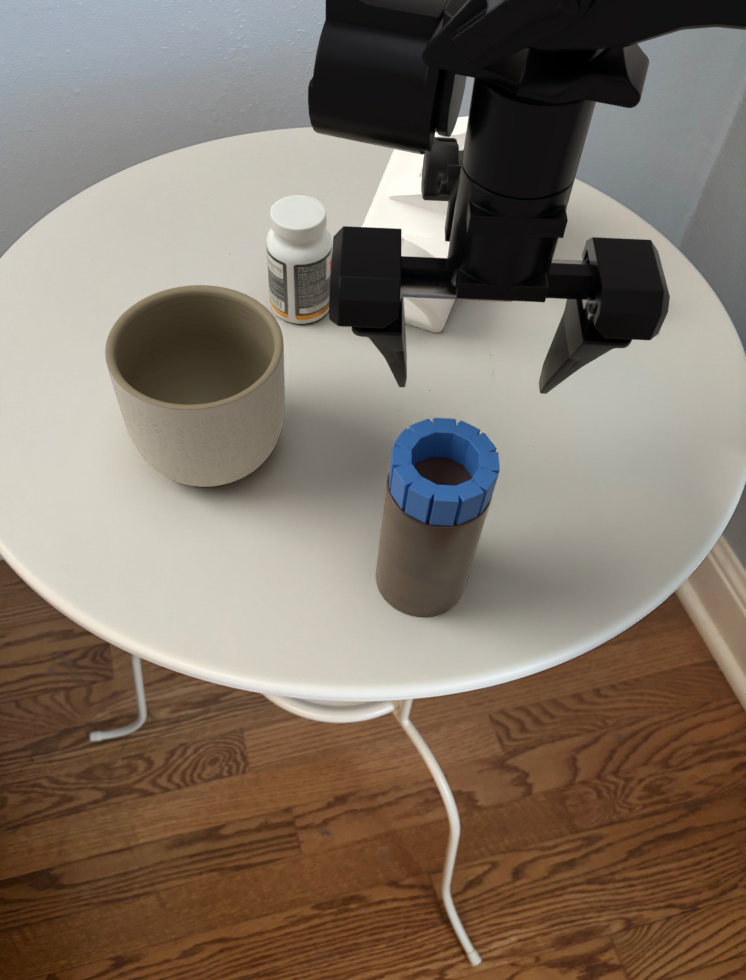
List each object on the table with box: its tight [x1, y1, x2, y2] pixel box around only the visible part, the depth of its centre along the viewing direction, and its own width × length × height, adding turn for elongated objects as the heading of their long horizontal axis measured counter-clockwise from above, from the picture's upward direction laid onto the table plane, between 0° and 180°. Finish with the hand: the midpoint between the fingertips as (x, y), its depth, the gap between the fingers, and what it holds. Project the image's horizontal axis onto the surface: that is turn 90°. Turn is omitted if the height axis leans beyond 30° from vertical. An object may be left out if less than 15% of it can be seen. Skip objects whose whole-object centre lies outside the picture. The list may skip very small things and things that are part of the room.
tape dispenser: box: [359, 115, 469, 334], centre depth 76 cm, size 20×11×13 cm, turn 156°
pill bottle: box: [265, 194, 333, 325], centre depth 73 cm, size 6×6×10 cm
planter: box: [104, 284, 286, 488], centre depth 63 cm, size 12×12×11 cm
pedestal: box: [375, 457, 493, 618], centre depth 57 cm, size 7×7×11 cm
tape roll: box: [388, 417, 500, 526], centre depth 51 cm, size 6×6×2 cm
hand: (472, 385), depth 55 cm, fingers open, 9 cm apart
